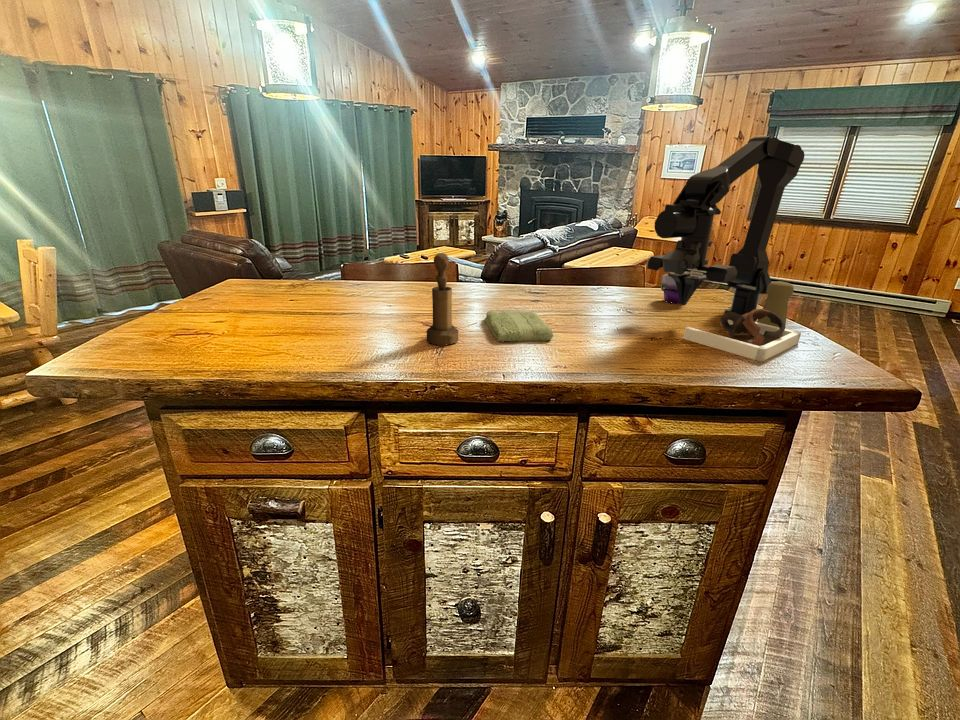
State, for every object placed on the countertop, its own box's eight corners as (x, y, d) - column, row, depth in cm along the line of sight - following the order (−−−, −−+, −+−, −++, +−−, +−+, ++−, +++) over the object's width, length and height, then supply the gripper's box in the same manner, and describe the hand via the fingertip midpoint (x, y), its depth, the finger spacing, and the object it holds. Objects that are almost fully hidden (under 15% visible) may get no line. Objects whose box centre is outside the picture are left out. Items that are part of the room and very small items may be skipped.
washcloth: (535, 319, 115) (535, 306, 114) (555, 343, 99) (556, 329, 98) (482, 320, 113) (482, 307, 112) (494, 345, 97) (494, 331, 96)
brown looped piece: (768, 338, 104) (790, 313, 98) (765, 368, 99) (789, 344, 92) (713, 319, 107) (732, 293, 100) (708, 348, 101) (727, 322, 95)
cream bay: (722, 324, 112) (724, 314, 111) (797, 343, 100) (801, 332, 99) (683, 338, 102) (685, 327, 101) (761, 361, 90) (764, 349, 89)
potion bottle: (654, 296, 136) (661, 255, 131) (685, 298, 135) (693, 256, 130) (661, 304, 128) (668, 260, 123) (694, 306, 127) (702, 261, 122)
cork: (789, 333, 106) (802, 286, 102) (760, 331, 107) (772, 284, 103) (779, 325, 112) (791, 280, 107) (751, 323, 113) (762, 278, 108)
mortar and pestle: (462, 337, 100) (463, 252, 93) (451, 347, 94) (450, 257, 87) (434, 334, 102) (432, 250, 95) (421, 343, 96) (418, 255, 89)
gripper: (637, 233, 105) (628, 301, 111) (719, 244, 92) (703, 320, 98) (665, 230, 112) (655, 294, 118) (745, 240, 98) (729, 312, 104)
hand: (682, 304), depth 109 cm, fingers closed
